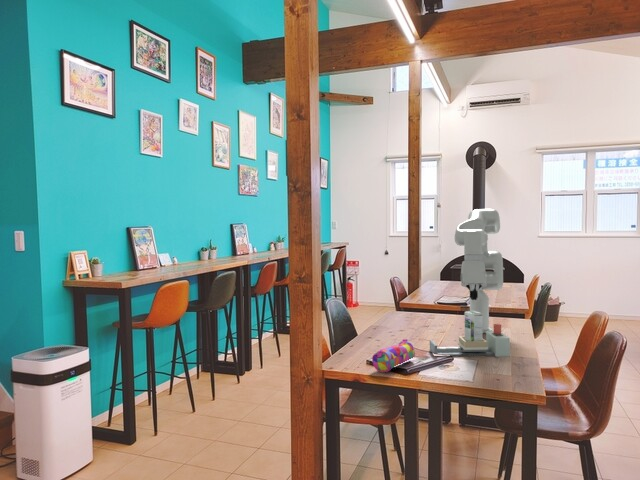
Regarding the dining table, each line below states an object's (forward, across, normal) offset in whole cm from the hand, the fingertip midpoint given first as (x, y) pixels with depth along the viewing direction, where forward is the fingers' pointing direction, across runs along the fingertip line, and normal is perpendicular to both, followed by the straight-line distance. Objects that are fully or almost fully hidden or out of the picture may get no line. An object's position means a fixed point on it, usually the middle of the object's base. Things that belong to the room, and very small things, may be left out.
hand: (473, 299), depth 201 cm
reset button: (+19, -10, -1) cm, 21 cm away
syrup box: (+20, 0, 0) cm, 20 cm away
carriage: (+23, +1, 0) cm, 23 cm away
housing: (+24, -10, 0) cm, 26 cm away
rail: (+24, +6, 0) cm, 25 cm away
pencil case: (+24, +37, +18) cm, 48 cm away
